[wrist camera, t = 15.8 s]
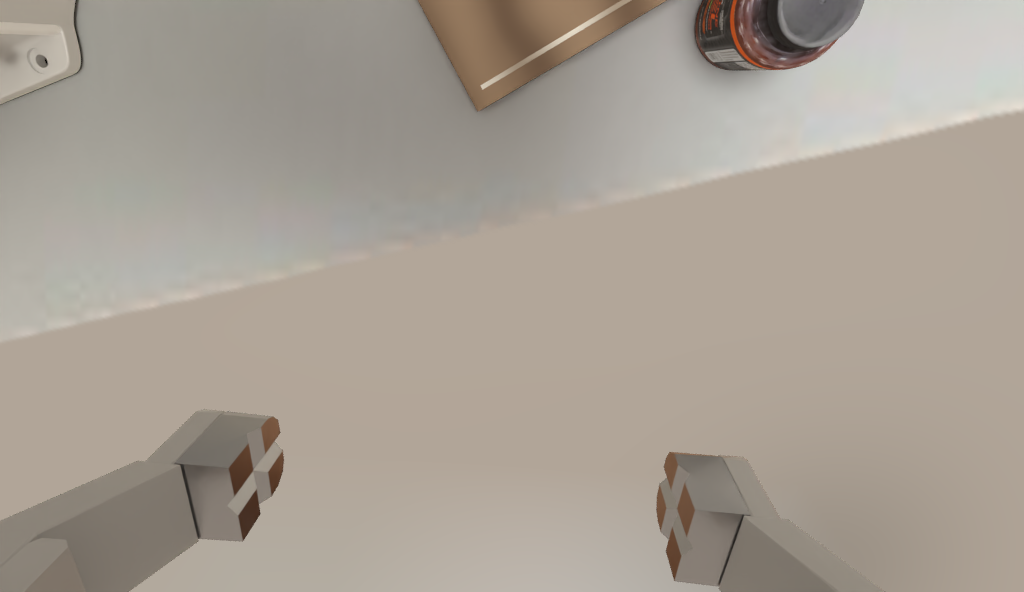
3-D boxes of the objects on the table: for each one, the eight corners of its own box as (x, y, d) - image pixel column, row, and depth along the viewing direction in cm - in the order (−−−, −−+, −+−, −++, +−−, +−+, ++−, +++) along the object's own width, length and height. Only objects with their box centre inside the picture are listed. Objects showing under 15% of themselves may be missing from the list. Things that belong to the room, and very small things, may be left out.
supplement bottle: (715, -42, 33) (797, -98, 22) (800, -13, 33) (919, -55, 23) (677, 57, 35) (736, 47, 25) (757, 82, 35) (848, 84, 25)
